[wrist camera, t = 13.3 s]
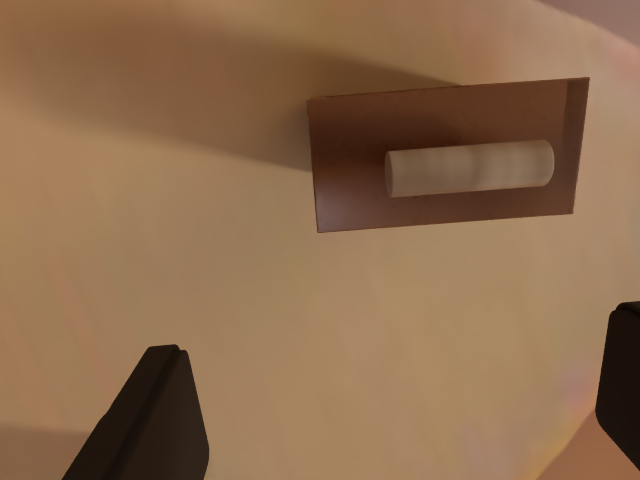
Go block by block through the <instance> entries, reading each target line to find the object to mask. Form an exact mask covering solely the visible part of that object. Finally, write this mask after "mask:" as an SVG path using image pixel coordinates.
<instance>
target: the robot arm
mask: <svg viewBox="0 0 640 480" xmlns="http://www.w3.org/2000/svg"><path fill="white" fill-rule="evenodd" d="M595 412H596V417H597V420H598V422H599V424H600V426H601V427H602V429H603V430H604V431H605V432H606V433H607V434H608V435H609V437H610V438H611V439H612V440H613V441H614V442H615V443H616V444H617V446H618V447H619V448H620V449H621V450H622V451H623V452H624V454H625V455H626V456H627V457H628V458H629V459H630V460H631V462H632V463H633V464H634V465H635V466H636V467H637V468H638V470H639V471H640V301H636V302H625V303H621V304H619V305H618V306H617V308H616V310H614V311H612V312H611V314H610V316H609V322H608V328H607V335H606V342H605V348H604V355H603V362H602V368H601V375H600V382H599V388H598V395H597V402H596V408H595ZM208 461H209V445H208V440H207V435H206V431H205V427H204V422H203V418H202V413H201V409H200V404H199V400H198V395H197V391H196V387H195V382H194V378H193V373H192V369H191V364H190V360H189V356H188V353H187V351H186V350H180V349H179V347H178V345H176V344H173V345H162V346H151V347H149V348H148V349H147V350H146V352H145V353H144V355H143V356H142V358H141V359H140V361H139V363H138V364H137V366H136V367H135V369H134V370H133V372H132V374H131V375H130V377H129V378H128V380H127V381H126V383H125V385H124V386H123V388H122V389H121V391H120V392H119V394H118V396H117V397H116V399H115V400H114V402H113V404H112V405H111V407H110V408H109V410H108V411H107V413H106V414H105V415H104V416H103V417H102V418H101V419H100V421H99V422H98V424H97V425H96V427H95V428H94V430H93V432H92V433H91V435H90V436H89V438H88V439H87V441H86V442H85V444H84V446H83V447H82V449H81V450H80V452H79V453H78V455H77V456H76V458H75V460H74V461H73V463H72V464H71V466H70V467H69V469H68V470H67V472H66V474H65V475H64V477H63V478H62V480H204V476H205V473H206V469H207V465H208Z"/></svg>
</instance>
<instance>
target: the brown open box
mask: <svg viewBox="0 0 640 480" xmlns="http://www.w3.org/2000/svg"><path fill="white" fill-rule="evenodd" d="M589 81H590V78H589V77H583V78H568V79H553V80H539V81H524V82H509V83H494V84H479V85H464V86H452V87H439V88H427V89H414V90H402V91H389V92H377V93H364V94H352V95H339V96H327V97H314V98H310V99H308V100H307V112H308V124H309V136H310V148H311V161H312V173H313V185H314V197H315V210H316V222H317V232H318V233H324V232H337V231H349V230H362V229H376V228H389V227H402V226H416V225H429V224H442V223H456V222H469V221H482V220H496V219H509V218H522V217H536V216H549V215H566V214H573V212H574V204H575V196H576V188H577V179H578V171H579V163H580V155H581V147H582V139H583V130H584V122H585V114H586V106H587V98H588V89H589Z"/></svg>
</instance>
